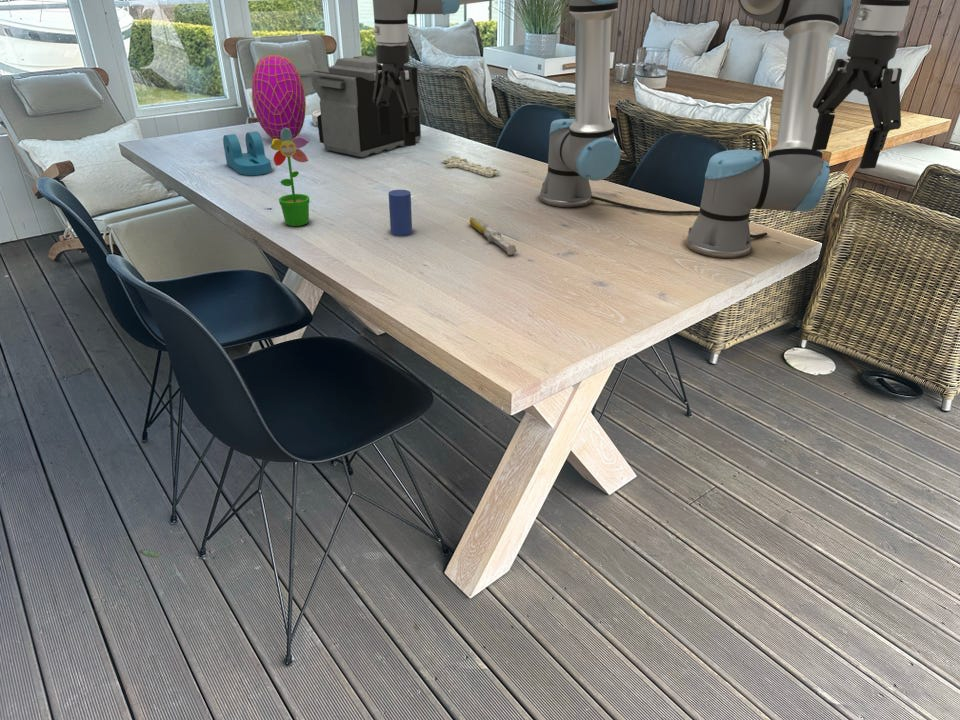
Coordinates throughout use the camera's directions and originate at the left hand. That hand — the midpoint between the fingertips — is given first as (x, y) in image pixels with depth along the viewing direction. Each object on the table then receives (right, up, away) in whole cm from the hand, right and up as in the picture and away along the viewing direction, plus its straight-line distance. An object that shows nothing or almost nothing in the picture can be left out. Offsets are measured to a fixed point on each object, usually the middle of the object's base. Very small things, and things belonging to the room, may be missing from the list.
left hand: (397, 139), depth 167 cm
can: (0, -20, +12) cm, 24 cm away
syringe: (+23, -23, +8) cm, 33 cm away
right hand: (+88, -16, -38) cm, 97 cm away
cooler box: (-21, +27, +92) cm, 98 cm away
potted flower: (-28, -17, +17) cm, 37 cm away
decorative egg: (-55, +31, +98) cm, 117 cm away
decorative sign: (+16, +11, +66) cm, 69 cm away
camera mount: (-56, +10, +63) cm, 85 cm away
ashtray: (-39, +48, +126) cm, 140 cm away
